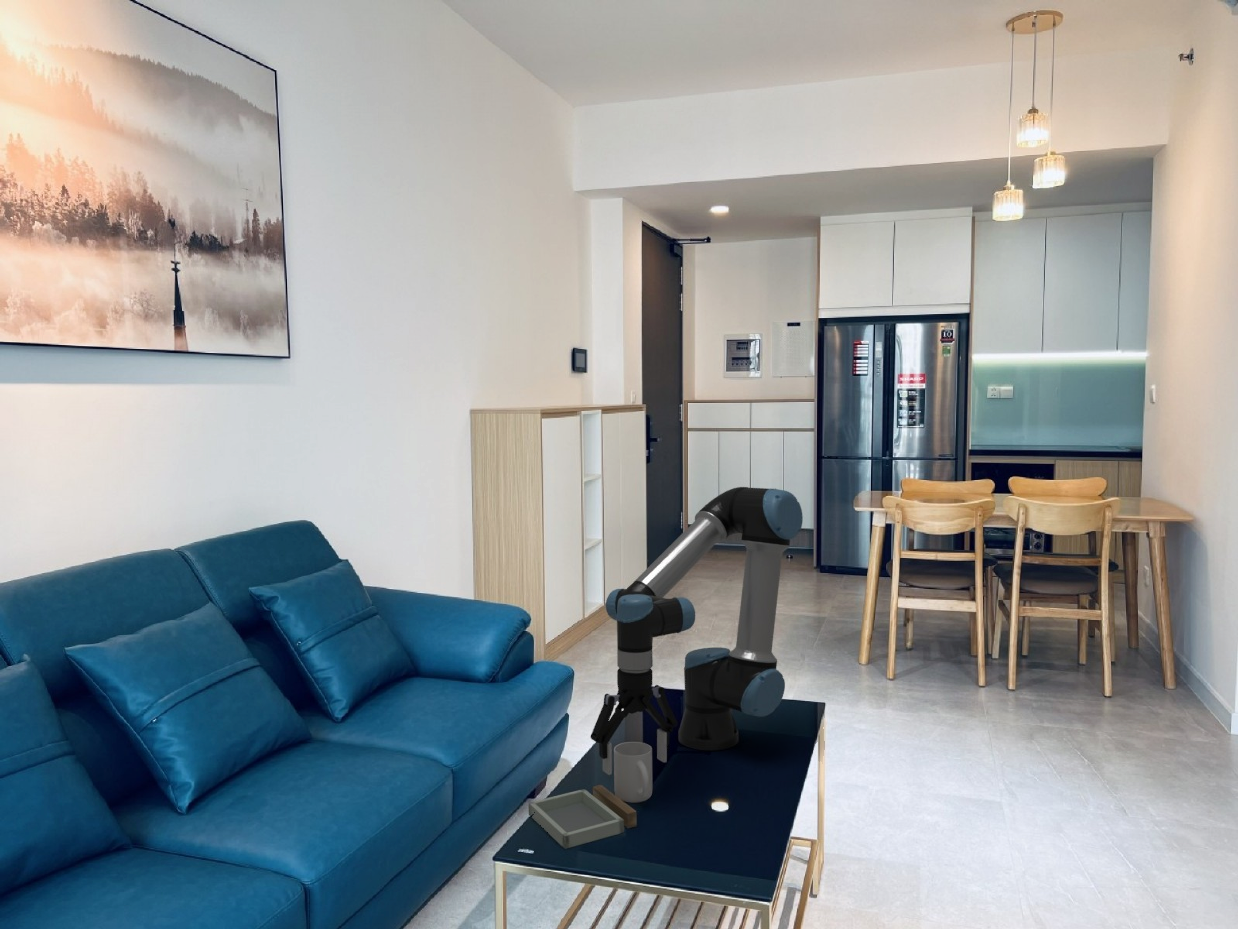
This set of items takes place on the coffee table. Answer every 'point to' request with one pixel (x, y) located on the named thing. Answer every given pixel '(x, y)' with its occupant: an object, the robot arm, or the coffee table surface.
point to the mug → (633, 771)
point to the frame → (576, 818)
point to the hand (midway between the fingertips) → (635, 766)
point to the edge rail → (616, 805)
